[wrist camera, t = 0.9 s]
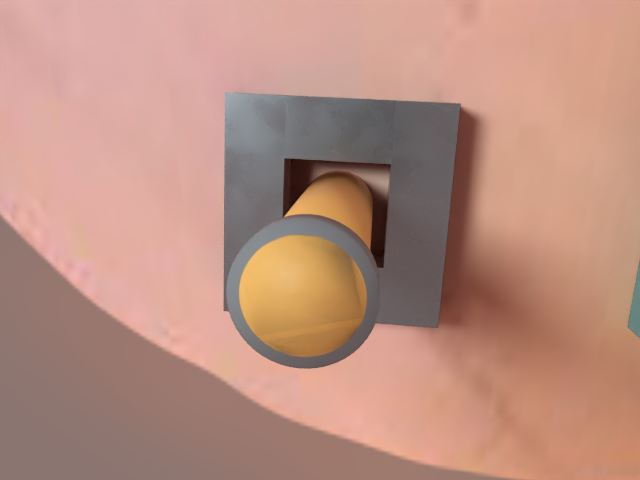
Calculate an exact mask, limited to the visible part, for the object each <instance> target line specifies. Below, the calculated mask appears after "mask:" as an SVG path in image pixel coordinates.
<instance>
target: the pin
mask: <svg viewBox="0 0 640 480" xmlns="http://www.w3.org/2000/svg"><path fill="white" fill-rule="evenodd" d="M372 213H373V200H372V196H371V193H370V191H369V189H368V187H367V185H366V184H365V183H364V182H363V181H362V180H361V179H360V178H359V177H357V176H355V175H354V174H351V173H349V172H345V171H330V172H327V173H324V174H322V175H320V176H319V177H317V178H316V179H315V180H314V181H313V182H312V183H311V184H310V185H309V186H308V188H307V189H306V190H305V191H304V193H303V194H302V195H301V196H300V198H299V199H298V200H297V201H296V203H295V204H294V205H293V206H292V208H291V209H290V210H289V211H288V213H287V214H286V215H285V216H284V217H282V218H279V219H277V220H275V221H272V222H271V223H269V224H267V225H266V226H264V227H263V228H261V229H260V230H259V231H258V232H257V233H256V234H255V235H254V236H253V237H252V238H251V239H250V240H249V241H248V242H247V243H246V244H245V245H244V246H243V248H242V249H241V250H240V252H239V253H238V254H237V256H236V258H235V260H234V262H233V263H232V266H231V269H230V272H229V275H228V280H227V290H226V294H227V304H228V309H229V312H230V315H231V318H232V321H233V323H234V325H235V327H236V329H237V330H238V332H239V333H240V335H241V336H242V337H243V339H244V340H245V341H246V342H247V343H248V344H249V345H250V346H251V347H252V348H253V349H254V350H255V351H257V352H258V353H259V354H261V355H262V356H264V357H266V358H268V359H269V360H271V361H274V362H276V363H279V364H281V365H285V366H289V367H294V368H319V367H324V366H328V365H331V364H334V363H336V362H339V361H341V360H343V359H345V358H346V357H348V356H349V355H351V354H352V353H354V352H355V351H356V350H357V349H358V348H359V347H360V346H361V345H362V344H363V343H364V341H365V340H366V339H367V338H368V336H369V334H370V333H371V331H372V329H373V327H374V325H375V323H376V320H377V316H378V313H379V306H380V279H379V272H378V268H377V264H376V262H375V259H374V257H373V255H372V253H371V251H370V245H371V229H372Z"/></svg>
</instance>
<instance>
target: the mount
mask: <svg viewBox="0 0 640 480" xmlns="http://www.w3.org/2000/svg"><path fill="white" fill-rule="evenodd" d="M460 105H461V104H456V103H436V102H415V101H394V100H373V99H351V98H330V97H309V96H288V95H267V94H246V93H225V186H224V311H229V309H228V304H227V294H226V290H227V280H228V275H229V272H230V269H231V266H232V263H233V262H234V260H235V258H236V256H237V254H238V253H239V252H240V250H241V249H242V248H243V246H244V245H245V244H246V243H247V242H248V241H249V240H250V239H251V238H252V237H253V236H254V235H255V234H256V233H257V232H258V231H259V230H260V229H261V228H263V227H264V226H266V225H267V224H269V223H271V222H272V221H275V220H277V219H279V218H282V217H284V216H285V215H286V214H287V213H288V211H289V209H290V179H291V159H307V160H325V161H342V162H360V163H378V164H390V174H389V187H388V201H387V214H386V228H385V241H384V255H383V256H377V255H373V257H374V259H375V262H376V264H377V268H378V272H379V279H380V306H379V313H378V316H377V320H376V323H380V324H393V325H406V326H418V327H431V328H438V323H439V313H440V303H441V293H442V283H443V273H444V263H445V253H446V244H447V234H448V224H449V214H450V204H451V194H452V184H453V174H454V164H455V154H456V144H457V134H458V124H459V114H460Z"/></svg>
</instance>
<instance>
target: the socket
mask: <svg viewBox="0 0 640 480" xmlns="http://www.w3.org/2000/svg"><path fill="white" fill-rule="evenodd" d="M628 328H629V329H630V330H631V331H632V332H634V333H635V334H636V335H637V336H638V337H639V338H640V262H639V268H638V273H637V279H636V284H635V290H634V295H633V300H632V306H631V311H630V317H629V322H628Z"/></svg>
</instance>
